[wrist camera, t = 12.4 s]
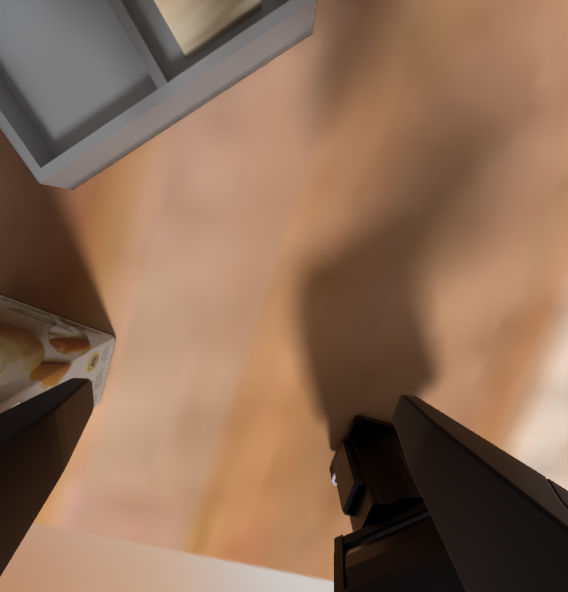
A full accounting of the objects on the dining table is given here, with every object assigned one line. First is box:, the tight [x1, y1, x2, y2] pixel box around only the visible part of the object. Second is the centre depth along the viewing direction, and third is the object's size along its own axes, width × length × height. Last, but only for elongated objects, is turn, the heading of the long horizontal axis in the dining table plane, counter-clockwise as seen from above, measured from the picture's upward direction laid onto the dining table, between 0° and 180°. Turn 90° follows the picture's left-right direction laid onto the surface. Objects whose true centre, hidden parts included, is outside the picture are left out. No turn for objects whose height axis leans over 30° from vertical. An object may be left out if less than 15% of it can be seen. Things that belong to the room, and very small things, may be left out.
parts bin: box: [0, 0, 317, 190], centre depth 15 cm, size 18×9×3 cm, turn 119°
